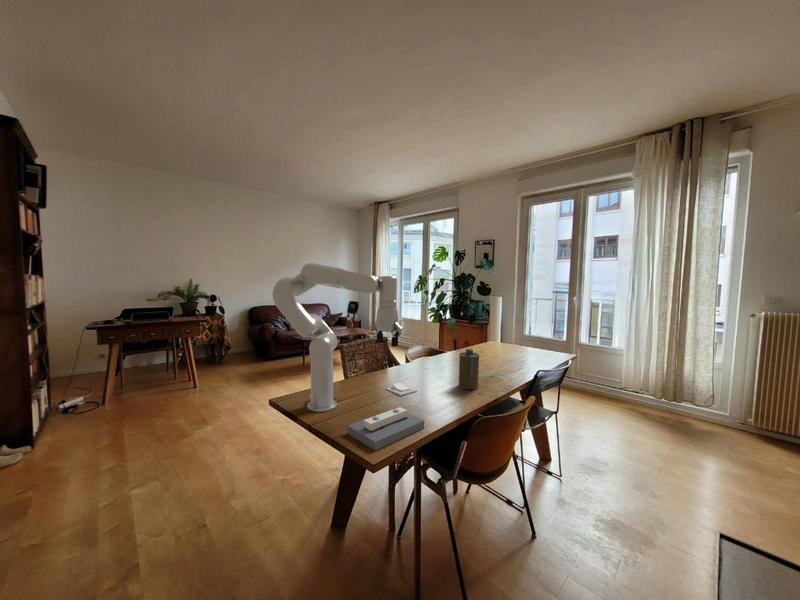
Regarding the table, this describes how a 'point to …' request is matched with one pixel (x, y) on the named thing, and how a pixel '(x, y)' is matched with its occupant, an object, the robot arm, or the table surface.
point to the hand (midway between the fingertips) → (387, 344)
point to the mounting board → (385, 431)
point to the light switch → (401, 389)
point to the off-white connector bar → (385, 419)
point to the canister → (468, 370)
